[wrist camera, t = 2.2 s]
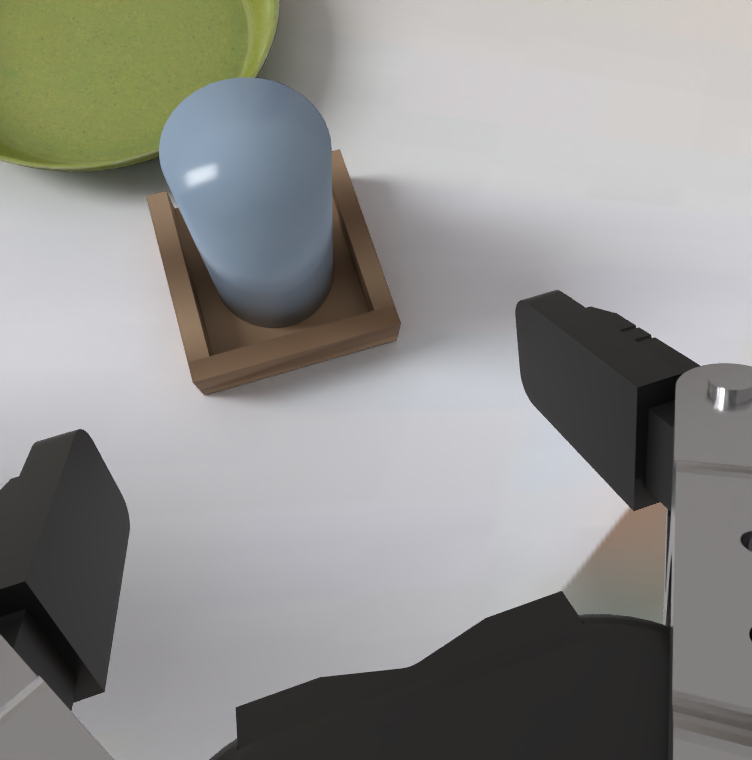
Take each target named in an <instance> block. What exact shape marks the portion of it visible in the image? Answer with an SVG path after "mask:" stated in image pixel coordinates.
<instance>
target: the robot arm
mask: <svg viewBox="0 0 752 760" xmlns="http://www.w3.org/2000/svg"><path fill="white" fill-rule="evenodd" d="M515 314H516V328H517V339H518V351H519V363H520V374H521V379H522V383H523V386H524V389H525V392H526V394H527V396H528V398H529V400H530V401H531V403H532V404H533V405H534V406H535V407H536V408H537V409H538V410H539V411H540V412H541V414H542V415H543V416H544V417H545V418H546V419H547V420H548V421H549V422H550V423H551V424H552V425H553V426H554V427H555V428H556V429H557V430H558V432H559V433H560V434H561V435H562V436H563V437H564V438H565V439H566V440H567V441H568V442H569V443H570V444H571V445H572V446H573V447H574V448H575V450H576V451H577V452H578V453H579V454H580V455H581V456H582V457H583V458H584V459H585V460H586V461H587V462H588V463H589V464H590V465H591V466H592V468H593V469H594V470H595V471H596V472H597V473H598V474H599V475H600V476H601V477H602V478H603V479H604V480H605V481H606V482H607V483H608V484H609V486H610V487H611V488H612V489H613V490H614V491H615V492H616V493H617V494H618V495H619V496H620V497H621V498H622V499H623V500H624V501H625V502H626V504H627V505H628V506H629V507H630V508H631V509H632V510H633V511H635V510H638V509H641V508H644V507H647V506H650V505H653V504H656V503H659V502H661V503H662V504H663V505H664V506H665V507H667V522H666V550H665V583H664V612H663V624H659V623H656V622H653V621H649V620H644V619H639V618H634V617H630V616H620V615H611V614H584V615H578V614H577V613H576V611H575V610H574V608H573V607H572V606H571V604H570V602H569V601H568V599H567V598H566V597H565V595H564V594H563V592H562V591H560V592H558V593H555V594H552V595H549V596H546V597H544V598H541V599H538V600H535V601H532V602H530V603H527V604H524V605H521V606H518V607H516V608H513V609H510V610H507V611H504V612H502V613H499V614H496V615H493V616H490V617H488V618H485V619H484V620H482V621H481V622H479V623H478V624H476V625H475V626H473V627H472V628H470V629H469V630H467V631H466V632H464V633H463V634H461V635H460V636H458V637H456V638H455V639H453V640H452V641H450V642H449V643H447V644H446V645H444V646H443V647H441V648H440V649H438V650H437V651H435V652H434V653H432V654H431V655H429V656H428V657H426V658H425V659H423V660H422V661H420V662H419V663H417V664H415V665H413V666H410V667H407V668H402V669H393V670H384V671H375V672H365V673H356V674H347V675H338V676H329V677H320V678H317V679H314V680H311V681H309V682H306V683H303V684H300V685H297V686H295V687H292V688H289V689H286V690H283V691H281V692H278V693H275V694H272V695H269V696H267V697H264V698H261V699H258V700H255V701H253V702H250V703H247V704H244V705H241V706H239V707H236V722H237V739H236V740H234V741H233V742H231V743H230V744H228V745H227V746H225V747H224V748H223V749H222V750H220V751H219V752H218V753H217V754H215V755H214V756H213V757H212V758H210V759H209V760H752V367H751V366H747V365H740V364H729V363H719V364H709V365H703V366H700V365H698V364H697V363H695V362H694V361H692V360H690V359H689V358H687V357H686V356H684V355H682V354H681V353H679V352H678V351H676V350H674V349H673V348H671V347H670V346H668V345H666V344H665V343H663V342H662V341H660V340H658V339H657V338H652V337H651V335H650V334H649V333H647V332H646V331H644V330H642V329H641V328H636V325H634V324H633V323H631V322H630V321H628V320H626V319H625V318H623V317H622V316H620V315H618V314H617V313H613V312H609V311H605V310H602V309H598V308H594V307H587V308H585V307H584V306H582V305H581V304H579V303H578V302H576V301H575V300H573V299H572V298H570V297H569V296H567V295H566V294H564V293H563V292H561V291H559V290H555V291H551V292H548V293H545V294H541V295H538V296H534V297H531V298H528V299H524V300H521V301H519V302H518V303H517V306H516V312H515ZM129 531H130V521H129V514H128V510H127V506H126V503H125V501H124V498H123V496H122V494H121V492H120V490H119V488H118V486H117V485H116V483H115V481H114V479H113V477H112V475H111V474H110V472H109V470H108V468H107V466H106V464H105V462H104V461H103V459H102V457H101V455H100V453H99V451H98V449H97V448H96V446H95V444H94V442H93V440H92V439H91V437H90V436H89V434H88V433H87V432H86V431H84V430H82V429H78V430H75V431H72V432H68V433H65V434H61V435H58V436H55V437H51V438H48V439H44V440H41V441H38V442H35V443H34V444H33V446H32V448H31V451H30V453H29V455H28V457H27V460H26V462H25V464H24V467H23V469H22V471H21V473H20V476H19V477H16V478H12V479H10V481H9V482H8V483H7V484H6V485H5V486H4V487H3V488H2V489H1V490H0V760H114V759H113V758H112V757H111V756H110V755H109V754H108V753H107V751H106V750H105V749H104V748H103V747H102V746H101V745H100V744H99V742H98V741H97V740H96V739H95V738H94V737H93V736H92V734H91V733H90V732H89V731H88V730H87V729H86V728H85V727H84V725H83V724H82V723H81V722H80V721H79V720H78V719H77V718H76V716H75V715H74V714H73V713H72V712H71V710H72V705H73V703H74V702H77V701H80V700H82V699H85V698H88V697H91V696H94V695H97V694H100V693H103V692H105V685H106V679H107V672H108V666H109V660H110V653H111V647H112V640H113V634H114V628H115V621H116V615H117V608H118V602H119V596H120V589H121V583H122V576H123V570H124V563H125V557H126V551H127V544H128V538H129Z"/></svg>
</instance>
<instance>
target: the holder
mask: <svg viewBox="0 0 752 760" xmlns="http://www.w3.org/2000/svg"><path fill="white" fill-rule="evenodd" d="M331 152H332V215H333V282H332V287H331V290H330V293H329V295H328V297H327V299H326V300H325V302H324V303H323V305H322V306H321V307H320V308H319V309H318V310H317V311H316V312H315V313H314V314H313V315H311V316H310V317H308V318H307V319H305V320H303V321H301V322H299V323H297V324H294V325H291V326H287V327H281V328H265V327H259V326H256V325H252V324H250V323H247V322H245V321H243V320H241V319H240V318H238V317H237V316H236V315H234V314H233V313H232V312H231V311H230V310H229V309H228V308H227V307H226V306H225V304H224V303H223V301H222V300H221V298H220V296H219V294H218V292H217V290H216V287H215V285H214V283H213V281H212V279H211V277H210V274H209V272H208V270H207V268H206V266H205V264H204V261H203V259H202V257H201V255H200V253H199V251H198V249H197V246H196V244H195V242H194V240H193V238H192V236H191V233H190V231H189V229H188V227H187V225H186V223H185V220H184V218H183V216H182V214H181V212H180V210H179V208H174V206H173V204H172V202H171V200H170V198H169V196H168V194H167V192H166V191H165V192H160V193H156V194H152V195H148V196H146V198H147V202H148V206H149V210H150V214H151V218H152V222H153V226H154V230H155V234H156V238H157V242H158V246H159V250H160V254H161V258H162V262H163V266H164V270H165V274H166V278H167V281H168V285H169V289H170V293H171V297H172V301H173V305H174V309H175V313H176V317H177V321H178V325H179V329H180V333H181V337H182V341H183V345H184V349H185V353H186V357H187V361H188V365H189V369H190V373H191V377H192V381H193V383H194V384H195V385H196V386H197V388H198V389H199V390H200V391H201V392H202V393H203V394H204V395H208V394H211V393H215V392H218V391H221V390H225V389H228V388H232V387H235V386H239V385H242V384H246V383H249V382H253V381H256V380H260V379H263V378H267V377H270V376H274V375H277V374H281V373H284V372H288V371H291V370H295V369H298V368H302V367H305V366H309V365H312V364H316V363H319V362H322V361H326V360H329V359H333V358H336V357H340V356H343V355H347V354H350V353H354V352H357V351H361V350H364V349H368V348H371V347H375V346H378V345H382V344H385V343H389V342H392V341H396V340H397V336H398V332H399V329H400V325H401V323H400V320H399V317H398V314H397V311H396V308H395V305H394V303H393V300H392V297H391V294H390V291H389V288H388V285H387V283H386V280H385V277H384V274H383V271H382V268H381V265H380V263H379V260H378V257H377V254H376V251H375V248H374V245H373V243H372V240H371V237H370V234H369V231H368V228H367V226H366V223H365V220H364V217H363V214H362V211H361V208H360V206H359V203H358V200H357V197H356V194H355V191H354V188H353V186H352V183H351V180H350V177H349V174H348V171H347V168H346V166H345V163H344V160H343V157H342V154H341V151H340V149H339V150H335V151H331Z"/></svg>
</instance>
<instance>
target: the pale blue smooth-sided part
mask: <svg viewBox="0 0 752 760" xmlns="http://www.w3.org/2000/svg"><path fill="white" fill-rule="evenodd" d="M159 159H160V165H161V169H162V172H163V175H164V177H165V179H166V182H167V184H168V186H169V188H170V190H171V192H172V195H173V197H174V199H175V201H176V203H177V205H178V207H179V210H180V212H181V214H182V216H183V218H184V220H185V223H186V225H187V227H188V229H189V231H190V233H191V236H192V238H193V240H194V242H195V244H196V246H197V249H198V251H199V253H200V255H201V257H202V259H203V261H204V264H205V266H206V268H207V270H208V272H209V274H210V277H211V279H212V281H213V283H214V285H215V287H216V290H217V292H218V294H219V296H220V298H221V300H222V301H223V303H224V304H225V306H226V307H227V308H228V309H229V310H230V311H231V312H232V313H233V314H234V315H236V316H237V317H238V318H240V319H241V320H243V321H245V322H247V323H250V324H252V325H256V326H259V327H265V328H281V327H287V326H291V325H294V324H297V323H299V322H301V321H303V320H305V319H307V318H308V317H310V316H311V315H313V314H314V313H315V312H316V311H317V310H318V309H319V308H320V307H321V306H322V305H323V303H324V302H325V300H326V299H327V297H328V295H329V293H330V290H331V287H332V282H333V215H332V152H331V139H330V135H329V131H328V128H327V126H326V123H325V121H324V119H323V118H322V116H321V114H320V113H319V111H318V110H317V109H316V108H315V106H314V105H313V104H312V103H311V102H310V101H309V100H308V99H307V98H305V97H304V96H303V95H301V94H300V93H299V92H297V91H295V90H293V89H292V88H290V87H288V86H286V85H283V84H281V83H278V82H275V81H271V80H267V79H261V78H250V77H243V78H232V79H225V80H222V81H218V82H214V83H210V84H209V85H207V86H204V87H203V88H201V89H199V90H197V91H195V92H194V93H192V94H191V95H189V96H188V97H187V98H185V99H184V100H183V101H182V102H181V103H180V104H179V105H178V106H177V107H176V108H175V110H174V111H173V112H172V114H171V115H170V117H169V118H168V120H167V122H166V124H165V126H164V128H163V131H162V135H161V138H160V145H159Z"/></svg>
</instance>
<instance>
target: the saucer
mask: <svg viewBox="0 0 752 760" xmlns="http://www.w3.org/2000/svg"><path fill="white" fill-rule="evenodd" d="M279 5H280V0H0V160H1V161H4V162H8V163H13V164H17V165H21V166H26V167H32V168H38V169H45V170H55V171H96V170H106V169H114V168H119V167H124V166H129V165H133V164H137V163H141V162H144V161H147V160H150V159H153V158H156V157H159V145H160V138H161V135H162V131H163V128H164V126H165V124H166V122H167V120H168V118H169V117H170V115H171V114H172V112H173V111H174V110H175V108H176V107H177V106H178V105H179V104H180V103H181V102H182V101H183V100H184V99H185V98H187V97H188V96H189V95H191V94H192V93H194V92H195V91H197V90H199V89H201V88H203V87H204V86H207V85H209V84H210V83H214V82H218V81H222V80H225V79H232V78H243V77H250V78H256V77H257V76H258V74H259V72H260V70H261V68H262V66H263V65H264V63H265V61H266V58H267V56H268V54H269V52H270V49H271V46H272V43H273V41H274V37H275V33H276V29H277V25H278V18H279Z"/></svg>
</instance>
